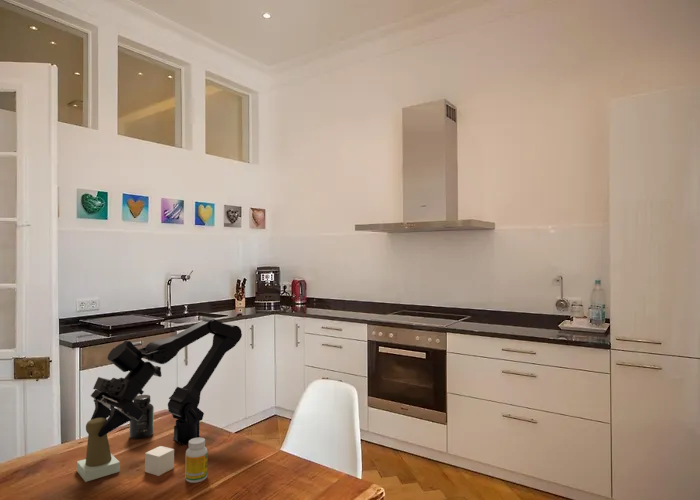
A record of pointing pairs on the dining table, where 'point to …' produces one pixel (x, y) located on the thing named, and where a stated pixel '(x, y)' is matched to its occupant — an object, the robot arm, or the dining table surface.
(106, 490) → the dining table surface
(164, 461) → the brick
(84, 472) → the base brick
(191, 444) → the supplement bottle
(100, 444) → the cork
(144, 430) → the supplement bottle
